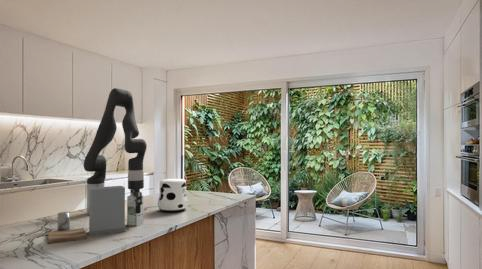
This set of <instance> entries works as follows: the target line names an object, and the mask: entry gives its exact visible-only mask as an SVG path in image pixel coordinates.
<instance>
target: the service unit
mask: <svg viewBox="0 0 482 269" xmlns="http://www.w3.org/2000/svg"><path fill="white" fill-rule="evenodd" d="M125 210H126V187H125V186H123V185H112V186H111V185H110V186H104V187H94V188H90V201H89V216H88V217H89V219H88V220H89V221H88V222H89V223H88V225H89V226H88V229H89V230H88V231H89V232H88V233H89V236H90V237H94V236H103V235H110V234H116V233H124V232H125V231H126V230H125V228H126V227H125V226H126V223H125V222H126V221H125V220H126V217H125V216H126V214H125V213H126V211H125Z"/></svg>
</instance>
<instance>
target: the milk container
mask: <svg viewBox="0 0 482 269" xmlns="http://www.w3.org/2000/svg"><path fill="white" fill-rule="evenodd" d="M157 207H158V209H159V210H160V211H161V212H169V213H171V212H180V211H184V210H186V208H187V207H188V197H187V181H186V179H185V178H165V179H160V180H159V196H158V200H157Z"/></svg>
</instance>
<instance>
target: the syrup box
mask: <svg viewBox="0 0 482 269" xmlns="http://www.w3.org/2000/svg"><path fill="white" fill-rule="evenodd" d="M134 198H135V199H136V197H133V196H132V195H130V194H129V195H127V197H126V201H127V202H126V204H127V205H126V206H127V208H126V210H127V213H126V214H127V215H126V217H127V218H126V224H127V226H131V227H138V226H141V225H143V224H144V194H142V205H140V207H141V212H140V213H138V214H136V205H135V202H134Z"/></svg>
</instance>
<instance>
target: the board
mask: <svg viewBox="0 0 482 269" xmlns="http://www.w3.org/2000/svg"><path fill="white" fill-rule="evenodd" d="M87 238H88V236H87V233H86V230H85V228H84V227H82V228H73V229H70V230H65V231H49V232H48V244H56V243H62V242H63V243H65V242H71V241H77V240H86V239H87Z"/></svg>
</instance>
